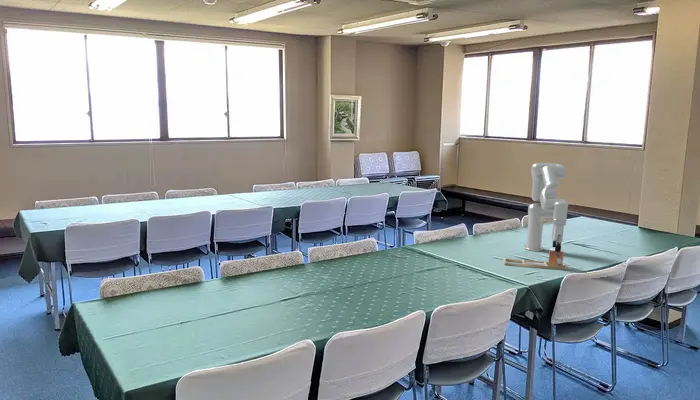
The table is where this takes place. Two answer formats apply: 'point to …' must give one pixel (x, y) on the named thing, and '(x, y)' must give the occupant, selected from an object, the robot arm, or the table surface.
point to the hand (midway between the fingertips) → (556, 249)
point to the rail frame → (533, 264)
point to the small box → (555, 258)
